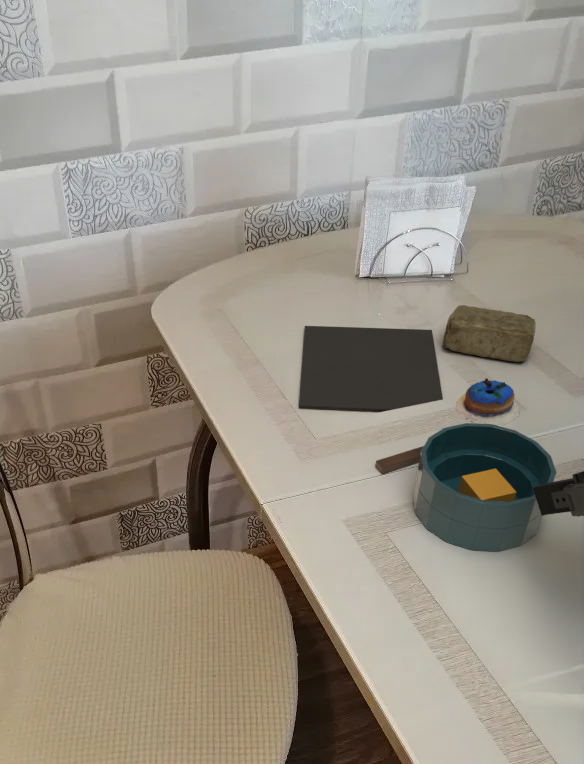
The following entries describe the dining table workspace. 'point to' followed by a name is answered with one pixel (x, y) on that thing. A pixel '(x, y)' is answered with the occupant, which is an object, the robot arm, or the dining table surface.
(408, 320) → the dining table surface
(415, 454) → the stop rail
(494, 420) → the dessert
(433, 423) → the dining table surface
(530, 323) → the stone block
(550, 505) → the robot arm
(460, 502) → the bowl
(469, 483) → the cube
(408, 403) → the mat
